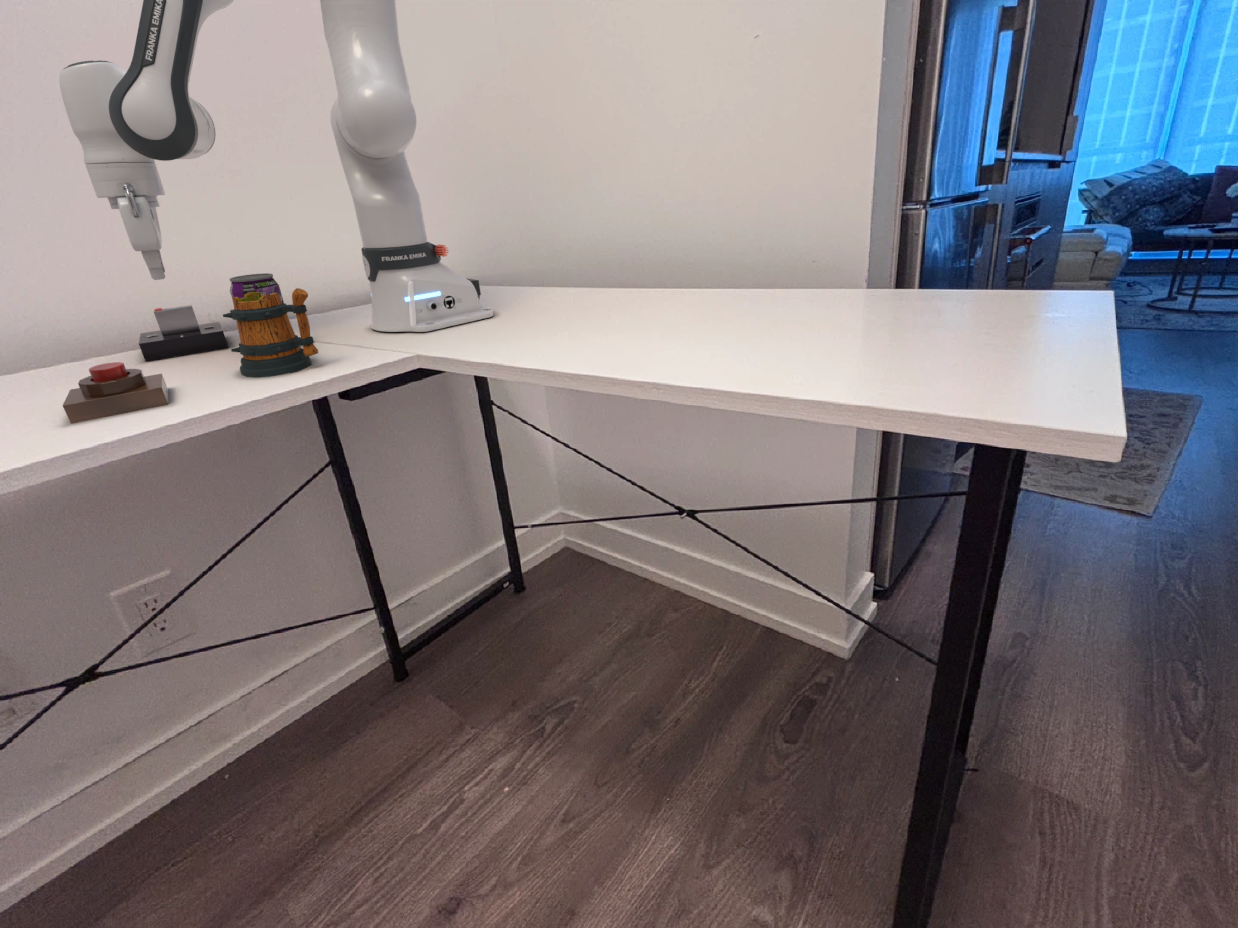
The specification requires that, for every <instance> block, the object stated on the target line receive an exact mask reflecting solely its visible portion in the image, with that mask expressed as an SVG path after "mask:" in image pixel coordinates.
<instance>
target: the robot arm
mask: <svg viewBox="0 0 1238 928" xmlns="http://www.w3.org/2000/svg"><path fill="white" fill-rule="evenodd" d="M233 2H234V0H143V2H142V6H141V11H140V17H139V22H138V26H137V27H138V28H137V33H136V38H135V44H134V48H133V54H132V58H131V62H130V65H129V67H128V68H127V70H125V69H124V68H122V67H121V66H120V65H118V64H116V63H115V62H112V61H109V60H84V61H78V62H73V63H71V64H68V65H67V66H66V67H64V68H63V69H62V70H61V71H60V73H59V78H58V81H59V82H58V83H59V88H60V89H59V90H60V94H61V98H62V101H63V105H64V108H65V112H66V115H67V118H68V120H69V124H70V127H71V129H72V132H73V134H74V135H75V137H76V138H77V140H78V141H79V143H80V145H81V147H82V152H83V162H84V165H85V169H86V170H87V173H88V176H89V178H90V179H89V180H90V181H91V184H92V187H93V190H94V192H95V195H96V197H97V198H99V199H104V198H106V199H107V201H108V203H109V206H110V208H111V210H119V214H120V216H121V219H122V222H123V225H124V229H125V230H126V234H127V236H128V239H129V242H130V246H131V247H132V249H133V250H134V251H135V252H141V255H142V258H143V261H144V263H145V265H146V267H147V268H148V272H149V274H150V278H151V279H152V280H154V281H159V280H161V281H162V280H165V279H166V274H165V272H166V268H165V265H164V262H163V258H162V254H161V249H162V245H163V244H162V242H163V240H162V232H161V227H160V222H159V218H158V212H157V208H158V207H160V203H159V200H158V196H165V195H166V191H165V189H164V186H163V183H162V180H161V177H160V174H159V171H158V167H157V164H156V161H155V160H157V161H160V162H161V161H162V162H163V161H164V162H167V161H169V162H170V161H174V160H193V159H198V158H200V157H202V156H204V155H205V154H207V153H209V152H210V151H211V149H212V148H213V146H214V144H215V141H216V127H215V124H214V121H213V119H212V116H211V115H210V113H209V112H208V111H207V109H206V108H205V107H204V106H203V105H202V104H201V103H200V102H198V101H197V100H195V98H193V97H191V96H190V92H189V87H190V86H189V84H190V81H191V80H190V79H191V74H192V71H193V70H192V68H193V64H194V60H195V59H194V58H195V54H196V50H197V49H196V48H197V43H198V38H199V35H200V31H201V28H202V27H203V25H204V23H205V21H206V20H207V19H208V18H209V17H210V16H211V15H213V14H214V13H216V12H218V11H220V10H224V9H225V8H227V7H229V6H230V5H232V4H233ZM319 4H320V11H321V18H322V26H323V33H324V38H325V41H326V44H327V48H328V52H329V57H330V60H331V66H332V69H333V74H334V75H333V76H334V80H335V86H336V91H337V97H336V98H335V100H334V101H333V104H332V107H331V109H330V125H331V129H332V133H333V136H334V141H335V144H336V148H337V151H338V154H339V159H340V162H341V166H342V169H343V171H344V175H345V176H344V177H345V179H346V182H347V185H348V188H349V191H350V195H351V198H352V202H353V205H354V210H355V215H356V219H357V224H358V228H359V234H360V238H361V243H362V247H361V249H360V250H361V259H362V264H363V268H364V272H365V275H366V277H367V280H368V281H369V287H370V297H371V324H370V325H371V327H370V328H371V329H372V330H374V331H377V332H384V333H385V332H387V333H399V332H400V333H401V332H404V333H405V332H415V333H426V332H431V331H436V330H440V329H444V328H445V329H446V328H449V327H454V326H458V325H462V324H466V323H471V322H476V321H479V320H484V319H489V318H492V317H493V316H494V312H493V311H494V310H493V309H492V307H490V306H488V305H485V304H482V303H481V302H480V301H481V295H482V294H481V287H480V281H479V279H473V278H466V277H464V276H463V275H462V274H460V273H458V272H457V271H455V270H454V269H453V268H451V267H449V266H447V265H445V264H444V263H443V262H441V260H442V258H443V257H447V256H448V254H449V248H448V247H447V246H446V245H445V244H441V243H440V244H437V245H436V244H434V243H432V242H430V241H428V238H427V237H428V236H427V231H426V225H425V220H424V215H423V208H422V202H421V197H420V193H419V191H418V188H417V187H416V185H415V182H414V179H413V176H412V173H411V170H410V166H409V163H408V160H407V157H406V153H405V151H406V150H407V149H408V147H409V146H410V144H411V143H412V142H413V139H414V137H415V133H416V129H417V113H416V110H415V107H414V104H413V103H412V97H411V90H410V86H409V81H408V76H407V75H408V74H407V71H406V68H405V63H404V59H403V54H402V49H401V44H400V43H401V42H400V34H399V26H398V15H397V7H396V0H319ZM441 257H442V258H441Z"/></svg>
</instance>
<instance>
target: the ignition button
mask: <svg viewBox="0 0 1238 928" xmlns="http://www.w3.org/2000/svg"><path fill="white" fill-rule="evenodd" d="M126 369H127V368H126V366H125V363H124V362H120V361H117V362H116V361H115V362H107V363H102V364H97V365H94V366H91V367H89V368H88V372H89V374H90V376H91V377H92V379H93V381H94V382H98V381H107V380H113V379H117V378H121V377H124V376H127V375H128V373H127V370H126Z"/></svg>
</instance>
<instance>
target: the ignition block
mask: <svg viewBox="0 0 1238 928" xmlns="http://www.w3.org/2000/svg"><path fill="white" fill-rule="evenodd" d="M126 370H127V373H128V375H127V376H124V377H121V378H117V379H113V380H107V381H98V382H94V381H93V379H92V377H91V375H88V376H86V377H83V378H81V379H79V380H78V383H77V384H78V387H77V388H71V389H69V391H68V393H67V396H66V398H65V400H64V402H63V404H62V408H63V410H64V412H65V414H66V416H67V418H68V420H69V423H70V424H77V423H83V422H88V421H92V420H97V419H102V418H108V417H113V416H117V415H123V414H128V413H132V412H138V411H143V410H147V409H154V408H158V407H164V406H168V405H169V388H168V386H167V384H166V380H165V378H164V376H163V374H162V373H156V374H151V375H145V376H144V372H143V370H142V369H139V368H126Z"/></svg>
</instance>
